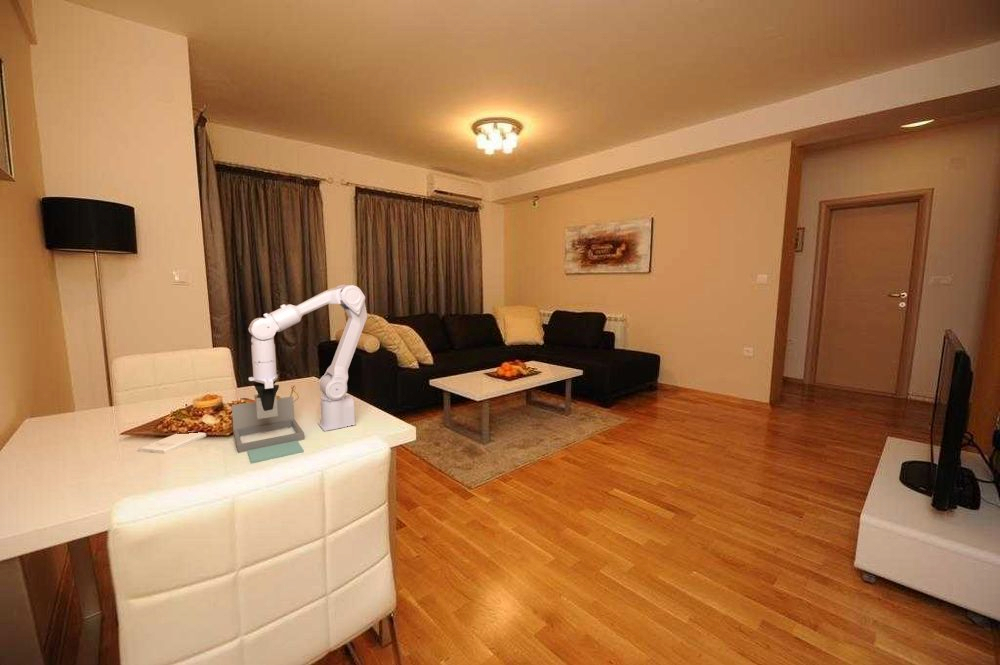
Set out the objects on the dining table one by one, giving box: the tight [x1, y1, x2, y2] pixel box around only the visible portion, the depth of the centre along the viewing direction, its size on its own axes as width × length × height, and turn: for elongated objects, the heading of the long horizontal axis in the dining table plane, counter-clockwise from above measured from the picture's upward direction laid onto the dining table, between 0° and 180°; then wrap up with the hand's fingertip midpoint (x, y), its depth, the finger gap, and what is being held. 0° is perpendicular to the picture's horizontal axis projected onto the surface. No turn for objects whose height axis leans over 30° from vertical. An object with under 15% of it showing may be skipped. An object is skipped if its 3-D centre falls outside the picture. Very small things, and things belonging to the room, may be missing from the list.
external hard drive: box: [137, 431, 207, 455], centre depth 114 cm, size 2×8×12 cm
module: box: [253, 393, 278, 419], centre depth 117 cm, size 5×4×6 cm
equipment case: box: [231, 395, 305, 454], centre depth 118 cm, size 16×15×9 cm
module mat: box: [246, 441, 304, 464], centre depth 109 cm, size 12×8×1 cm, turn 126°
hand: (267, 407), depth 117 cm, fingers closed on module, 4 cm apart
